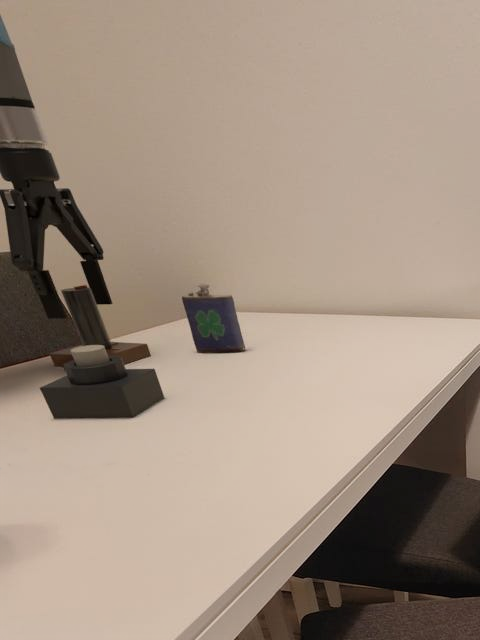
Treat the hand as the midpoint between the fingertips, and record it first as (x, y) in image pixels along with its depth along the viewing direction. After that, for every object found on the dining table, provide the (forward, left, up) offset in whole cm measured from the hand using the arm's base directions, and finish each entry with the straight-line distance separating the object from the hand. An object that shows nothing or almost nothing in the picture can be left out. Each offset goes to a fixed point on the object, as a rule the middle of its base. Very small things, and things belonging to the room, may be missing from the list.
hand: (82, 311), depth 99 cm
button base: (+17, -28, -8) cm, 34 cm away
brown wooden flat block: (0, 0, -8) cm, 8 cm away
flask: (+19, +6, -8) cm, 22 cm away
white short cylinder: (+17, -28, -2) cm, 33 cm away
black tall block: (0, 0, -6) cm, 6 cm away
